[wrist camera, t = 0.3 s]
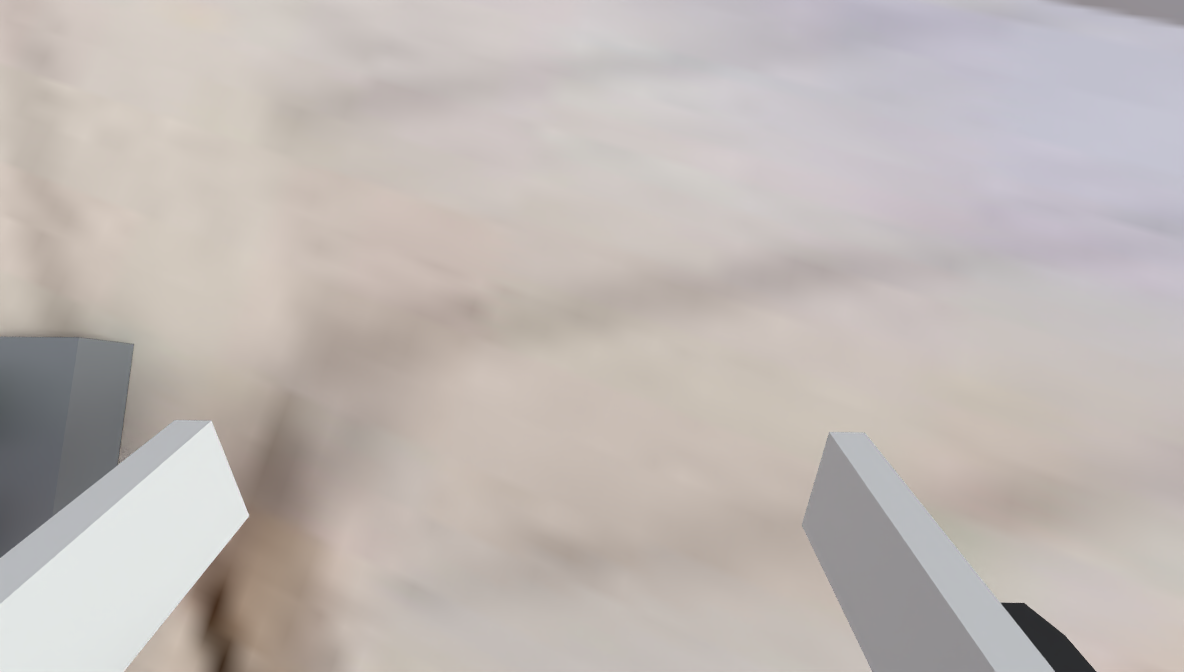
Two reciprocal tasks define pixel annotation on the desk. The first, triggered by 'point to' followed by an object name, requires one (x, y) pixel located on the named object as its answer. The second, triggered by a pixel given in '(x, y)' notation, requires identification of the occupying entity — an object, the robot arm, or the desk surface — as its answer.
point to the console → (56, 424)
